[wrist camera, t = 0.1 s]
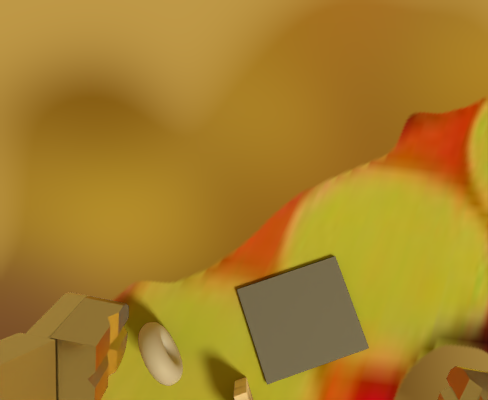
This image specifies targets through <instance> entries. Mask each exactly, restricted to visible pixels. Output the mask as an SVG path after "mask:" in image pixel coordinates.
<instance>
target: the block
mask: <svg viewBox="0 0 488 400" xmlns="http://www.w3.org/2000/svg"><path fill="white" fill-rule="evenodd" d="M234 400H253V397H252V394H251V391H250V388H249V385H248V381H247V378H246V377H244V378H242V379H239V380H236V381H235V385H234Z"/></svg>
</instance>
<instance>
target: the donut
mask: <svg viewBox="0 0 488 400" xmlns="http://www.w3.org/2000/svg"><path fill="white" fill-rule="evenodd" d="M138 343H139V349H140V352H141V355H142V358H143V360H144V363H145V365H146V367H147V368H148V370H149V372H150V373H151V374H152V376H153V377H154V378H155V379H156V380H157V381H158V382H159V383H161V384H164V385H167V386H170V385H173V384H175V383H176V382H177V381H178V380H179V379H180V378H181V375H182V371H183V366H182V360H181V356H180V354H179V351H178V348H177V346H176V344H175V342H174V340H173V339H172V337H171V335H170V334H169V333H168V331H167V330H166V329H165V328H164V327H163V326H162V325H161V324H159V323H157V322H149V323H146V324H145V325H144V326H143V327H142V328H141V330H140V332H139V336H138Z"/></svg>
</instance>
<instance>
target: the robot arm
mask: <svg viewBox="0 0 488 400" xmlns="http://www.w3.org/2000/svg"><path fill="white" fill-rule="evenodd" d="M128 318H129V306H128V305H127V304H126V303H121V302H116V301H112V300H107V299H102V298H98V297H93V296H87V295H82V294H77V293H72V292H69V293H66V294H64V295H63V296H62V297H61V298H60V299H59V300H58V301H57V302H56V303H55V304H54V305H53V306H52V307H51V308H50V309H49V310H48V311H47V312H46V313H45V314H44V315H43V316H42V317H41V318H40V319H39V320H38V321H37V322H36V323H35V324H34V325H33V326H32V327H31V328H30V329H29V330H28V331H27V333H26V334H22V333H17V334H14V335H12V336H9V337H7V338H4V339H2V340H0V400H101V398H102V396H103V394H104V393H105V391H106V389H107V387H108V376H109V375H111V374H113V373H115V372H116V371H117V369H118V367H119V365H120V363H121V360H122V358H123V355H124V352H125V348H126V343H127V334H128V332H127V331H126V329H125V328H124V325H125V323H126V321H127V320H128ZM447 381H448V383H449V387H448V388H446V389H445V390H443V391H441V392H440V394H439V397H438V400H488V372H485V371H480V370H474V369H468V368H463V367H458V366H455V367H454V368H452V369H451V370H450V372H449V374H448V376H447Z"/></svg>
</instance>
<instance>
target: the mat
mask: <svg viewBox="0 0 488 400" xmlns="http://www.w3.org/2000/svg"><path fill="white" fill-rule="evenodd" d="M237 291H238V294H239V297H240V301H241V304H242V307H243V310H244V313H245V316H246V319H247V322H248V326H249V329H250V332H251V335H252V338H253V341H254V344H255V347H256V351H257V354H258V357H259V360H260V363H261V366H262V369H263V373H264V376H265V379H266V382H267V384H270V383H272V382H275V381H278V380H281V379H284V378H286V377H289V376H292V375H295V374H298V373H300V372H303V371H306V370H309V369H312V368H314V367H317V366H320V365H323V364H326V363H329V362H331V361H334V360H337V359H340V358H343V357H345V356H348V355H351V354H354V353H357V352H359V351H362V350H365V349H368V348H369V347H368V344H367V342H366V339H365V336H364V333H363V331H362V328H361V325H360V323H359V320H358V317H357V314H356V312H355V309H354V306H353V303H352V301H351V298H350V295H349V293H348V290H347V287H346V284H345V282H344V279H343V276H342V274H341V271H340V268H339V265H338V263H337V260H336V257H335V256H334V257H331V258H328V259H325V260H322V261H319V262H316V263H313V264H310V265H307V266H304V267H301V268H298V269H296V270H293V271H290V272H287V273H284V274H281V275H278V276H275V277H272V278H269V279H266V280H263V281H260V282H257V283H254V284H251V285H248V286H246V287H243V288H240V289H237Z"/></svg>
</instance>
